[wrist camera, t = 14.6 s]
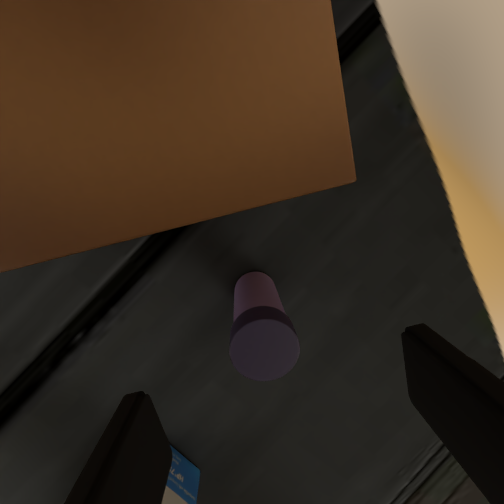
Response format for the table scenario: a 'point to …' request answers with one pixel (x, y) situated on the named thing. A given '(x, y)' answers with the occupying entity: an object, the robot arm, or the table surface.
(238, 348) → the glue stick
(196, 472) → the ink box
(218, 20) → the cabinet
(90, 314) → the table surface
